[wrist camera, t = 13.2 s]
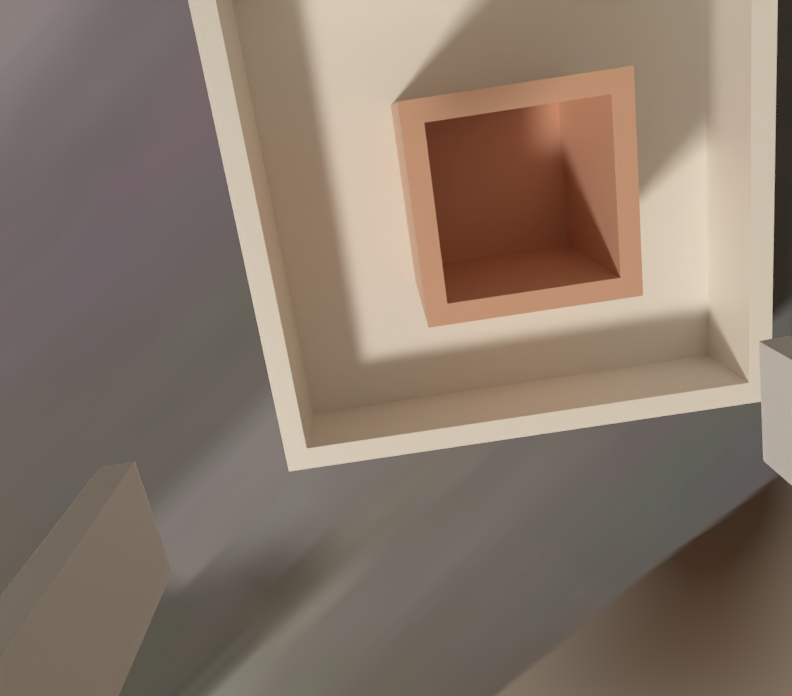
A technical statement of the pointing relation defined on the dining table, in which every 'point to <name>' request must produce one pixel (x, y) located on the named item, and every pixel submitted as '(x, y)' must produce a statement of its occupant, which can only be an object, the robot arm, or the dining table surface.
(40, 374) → the dining table surface
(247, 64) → the cream square tray
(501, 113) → the small crate
